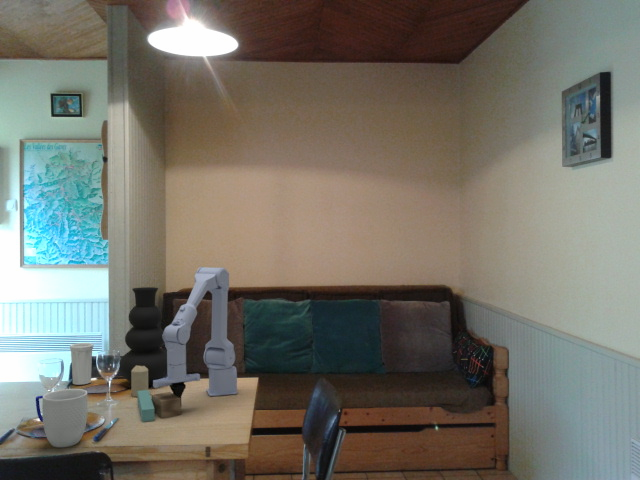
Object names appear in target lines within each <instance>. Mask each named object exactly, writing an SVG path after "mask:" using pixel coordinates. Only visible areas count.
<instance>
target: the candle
mask: <svg viewBox="0 0 640 480" xmlns="http://www.w3.org/2000/svg"><path fill="white" fill-rule="evenodd" d="M130 385H131V386H130V387H131V391H130V393H131V396H132V397H134V398H135V397H136V398H138V391H143V390H149V386H148V369H147V368H146V367H145V366H137V365H136V366H135V367H134V368H133V369H132V370H131V384H130Z"/></svg>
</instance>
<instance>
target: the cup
mask: <svg viewBox="0 0 640 480" xmlns="http://www.w3.org/2000/svg"><path fill="white" fill-rule="evenodd" d="M69 349H70V353H71V354H70V356H71V373H72V384H73V385H77V386H78V385H87V384H91V382H92V367H93V366H92V364H93V363H92V360H93V349H94V344H93V343H92V342H78V343H72V344H70V345H69Z"/></svg>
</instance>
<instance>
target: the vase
mask: <svg viewBox="0 0 640 480" xmlns="http://www.w3.org/2000/svg"><path fill="white" fill-rule="evenodd" d="M158 290H159V287H154V286H151V287H150V286H149V287H148V286H145V287H142V286H141V287H133V288H132V292H133V293H134V301H135V302H134V304H135V306H134V305H133V307H132V309H130V311H129V313H128V321H129V323H130V325H131V326H132V327H131V328H130V329H129V330H128V331H127V332H126V334H125V337H124V342H125V344H126V346H127V347H128V348H129V349H131V350H129V351H127V352H126V353H125V354H124V355H123V356H122V357H121V359H120V361H119V364H120V368H119V367H118V368H119V369H118V370H119V372H120V374H121V376H122V377H123V378H124V379H126V380H127V381H129V384H130V383H131V370H132V369H133V368H134V367H135V366H136V365H137V366H145V367H146V368H147V369H148V387H149V386H153V380H158V379H162V378H166V377H167V351H165V350H163V349H162V348H161V347H163V345H165V342H164V340H163V337H162V335H163V333H164V330H163V328H161V327H160V326H159V324H160V323H161V322H162V319H163V312H162V310H161V309H160V308H159V307H158V305H156V296H157V292H158Z"/></svg>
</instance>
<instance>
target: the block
mask: <svg viewBox="0 0 640 480" xmlns="http://www.w3.org/2000/svg"><path fill="white" fill-rule="evenodd" d="M150 396H151V399H152V403H153V406H154V415H156V416H158V417H159V419H166V418H172V417H177V416H181V415H182V414H181V413H182V405H181V403H182V397H181V398H179V397H177V396H176V395H174V394H173V392H171V391H168V392H167V391H166V392H162V393H161V392H160V393H156V394H155V393H154V394H150Z"/></svg>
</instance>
